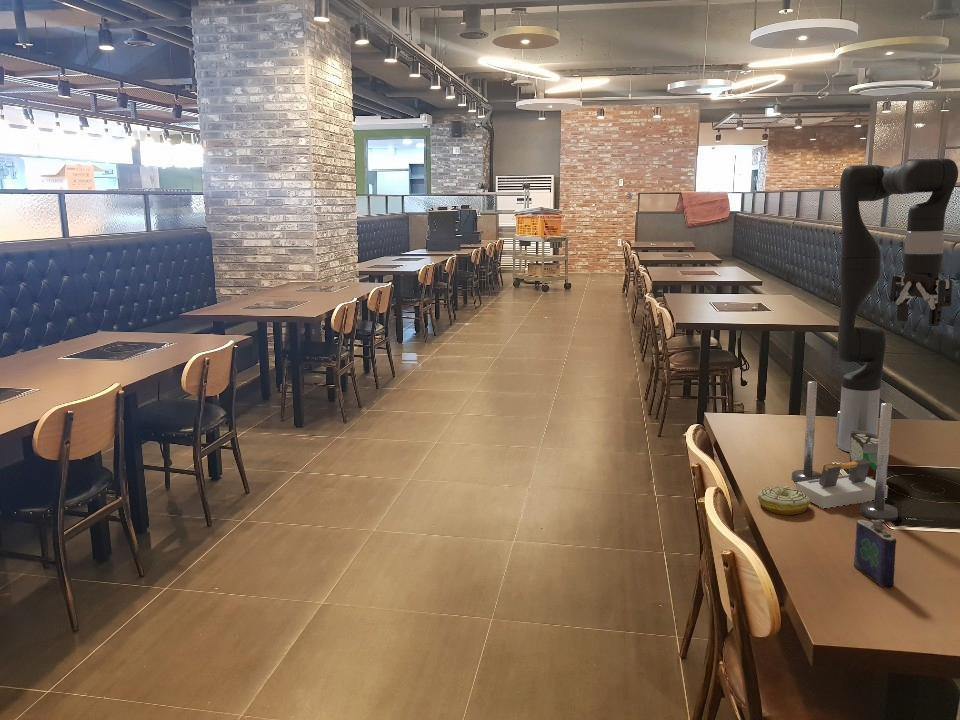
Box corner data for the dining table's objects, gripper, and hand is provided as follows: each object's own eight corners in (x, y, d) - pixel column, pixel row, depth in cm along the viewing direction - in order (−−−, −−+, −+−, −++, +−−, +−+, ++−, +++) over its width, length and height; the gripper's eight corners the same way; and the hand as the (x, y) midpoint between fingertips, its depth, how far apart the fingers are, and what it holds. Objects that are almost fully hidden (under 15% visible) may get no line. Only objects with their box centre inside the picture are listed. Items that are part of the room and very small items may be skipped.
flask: (850, 564, 136) (854, 510, 134) (864, 563, 136) (868, 509, 134) (883, 589, 127) (888, 531, 125) (899, 587, 127) (904, 530, 125)
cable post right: (852, 511, 159) (859, 401, 155) (879, 506, 161) (887, 398, 156) (877, 523, 153) (886, 409, 148) (905, 518, 155) (914, 406, 150)
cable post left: (785, 477, 180) (789, 380, 175) (809, 474, 182) (814, 377, 177) (805, 487, 174) (810, 386, 169) (829, 483, 175) (835, 383, 171)
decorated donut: (816, 506, 163) (817, 490, 163) (799, 521, 156) (799, 504, 155) (769, 495, 170) (770, 479, 170) (750, 509, 163) (751, 493, 162)
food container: (890, 486, 172) (893, 445, 170) (861, 485, 174) (864, 444, 172) (873, 468, 184) (876, 430, 182) (847, 467, 185) (849, 429, 183)
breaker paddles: (818, 483, 166) (824, 465, 164) (860, 477, 169) (865, 458, 167) (823, 487, 164) (828, 468, 162) (865, 481, 167) (870, 462, 165)
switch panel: (795, 494, 169) (796, 481, 169) (856, 485, 174) (857, 472, 173) (823, 509, 161) (824, 495, 160) (886, 498, 165) (887, 485, 165)
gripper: (965, 251, 158) (958, 326, 161) (910, 249, 172) (905, 318, 175) (937, 253, 156) (931, 329, 159) (884, 251, 170) (879, 320, 173)
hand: (917, 323), depth 167 cm, fingers open, 8 cm apart
